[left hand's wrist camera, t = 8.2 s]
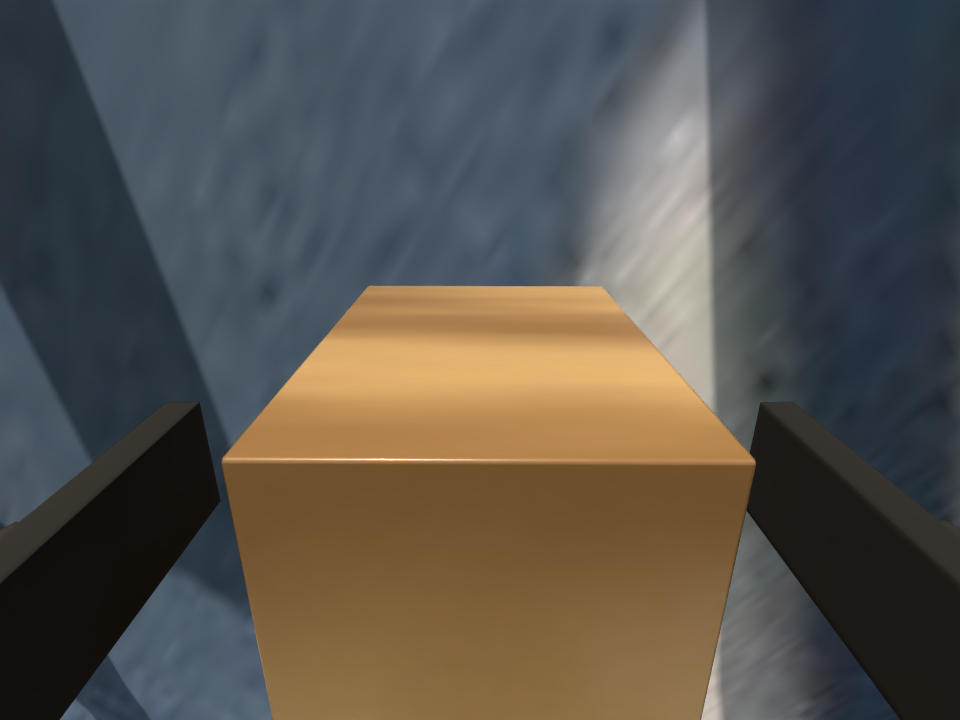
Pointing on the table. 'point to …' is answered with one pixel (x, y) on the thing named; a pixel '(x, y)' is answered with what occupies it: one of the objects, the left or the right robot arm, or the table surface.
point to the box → (487, 515)
